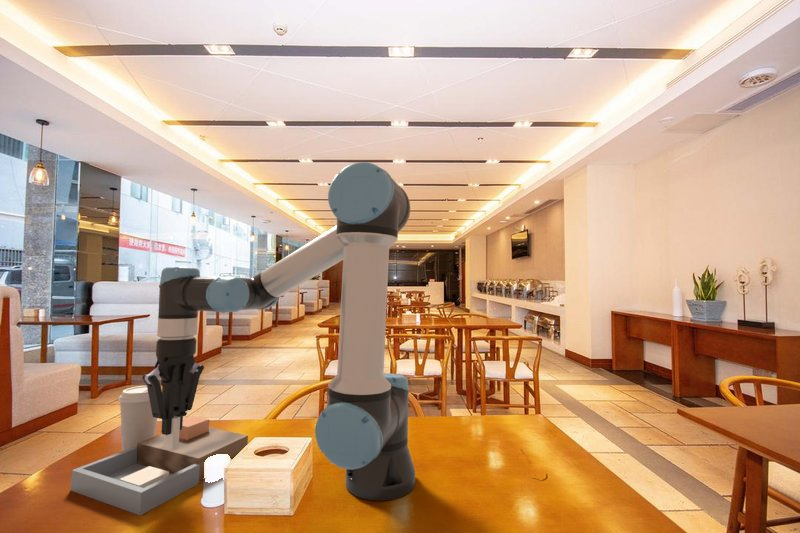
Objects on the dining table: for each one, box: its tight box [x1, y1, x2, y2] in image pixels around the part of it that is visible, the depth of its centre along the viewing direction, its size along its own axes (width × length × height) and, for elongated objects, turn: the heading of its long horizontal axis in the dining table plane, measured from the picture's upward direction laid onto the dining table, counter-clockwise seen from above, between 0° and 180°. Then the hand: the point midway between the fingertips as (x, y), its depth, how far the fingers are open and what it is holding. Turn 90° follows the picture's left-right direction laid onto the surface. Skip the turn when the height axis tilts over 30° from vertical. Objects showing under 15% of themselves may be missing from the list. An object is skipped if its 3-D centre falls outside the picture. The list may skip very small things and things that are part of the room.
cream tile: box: [119, 466, 169, 488], centre depth 75 cm, size 6×6×3 cm
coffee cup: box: [117, 385, 158, 452], centre depth 96 cm, size 10×10×15 cm
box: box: [70, 447, 200, 516], centre depth 77 cm, size 21×12×4 cm, turn 68°
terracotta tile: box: [179, 415, 210, 440], centre depth 93 cm, size 6×6×3 cm
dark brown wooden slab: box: [137, 426, 249, 483], centre depth 89 cm, size 20×14×5 cm
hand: (171, 447), depth 80 cm, fingers closed
